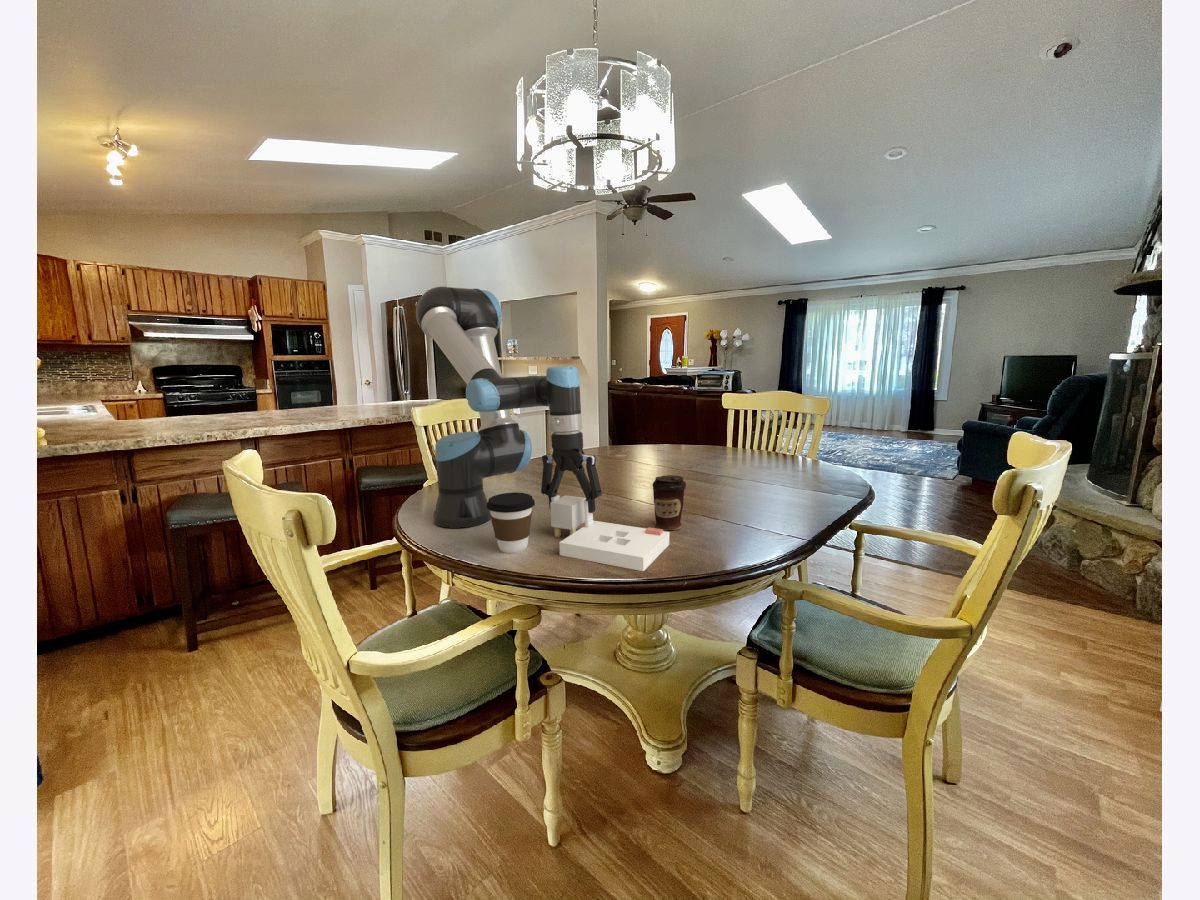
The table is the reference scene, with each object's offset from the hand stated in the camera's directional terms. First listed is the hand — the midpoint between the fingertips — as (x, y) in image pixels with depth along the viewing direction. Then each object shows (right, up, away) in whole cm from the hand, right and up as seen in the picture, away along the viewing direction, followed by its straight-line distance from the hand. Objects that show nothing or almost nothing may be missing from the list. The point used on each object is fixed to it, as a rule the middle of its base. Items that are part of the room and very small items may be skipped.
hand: (573, 523), depth 122 cm
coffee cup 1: (-13, -5, -7) cm, 16 cm away
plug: (-1, -3, +1) cm, 3 cm away
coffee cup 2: (+24, -2, +5) cm, 25 cm away
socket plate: (+10, -5, -9) cm, 14 cm away
